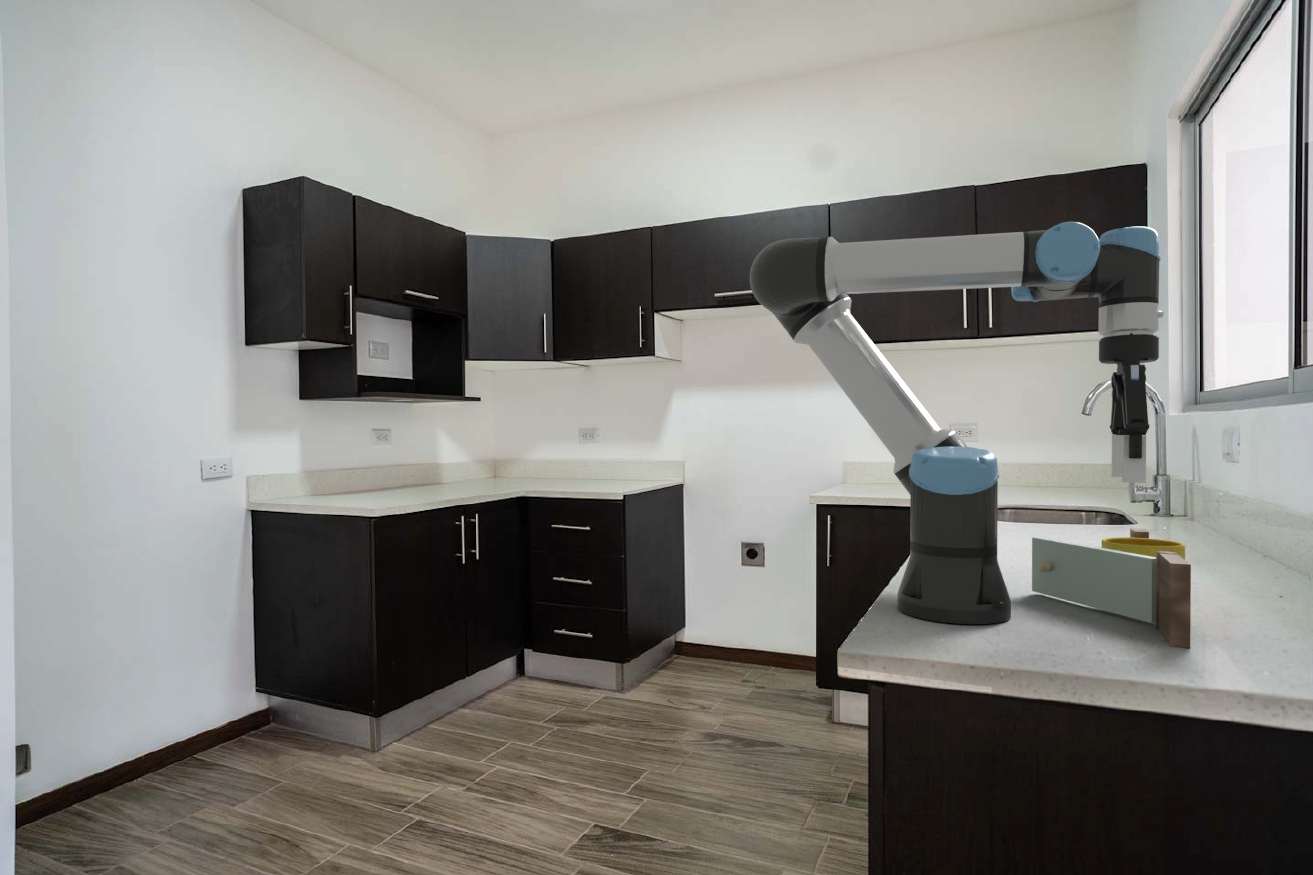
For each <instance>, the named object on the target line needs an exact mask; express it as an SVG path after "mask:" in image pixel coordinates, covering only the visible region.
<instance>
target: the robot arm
mask: <svg viewBox="0 0 1313 875" xmlns="http://www.w3.org/2000/svg"><path fill="white" fill-rule="evenodd" d="M1095 232H1096V231H1094V229H1092V228H1091V227H1089V226H1088V225H1087V224H1085V223H1082V222H1079V221H1066V222H1065V221H1064V222H1060V223H1057V225H1053V226H1051V227H1050V228H1048V229H1046V230H1045V229H1044V230H1031V231H1029V230H1028V231H1018V232H1016V231H1015V232H1014V231H1013V232H1001V233H1000V232H999V233H984V234H968V235H967V234H966V235H954V236H953V235H952V236H951V235H948V236H935V237H919V238H918V237H916V238H902V239H901V238H900V239H886V240H883V239H882V240H868V241H867V240H866V241H854V242H853V241H850V242H839V241H837V240H836V239H835V238H834V237H833V236H821V237H798V238H797V237H795V238H785V239H780V240H776V241H773V242H772V243H769V244H768V245H767V246H765V247H764V248H762V250H760V251H759V253H758V254H757V256H756V257H755V258H754V260H753V262H752V264H751V268H750V272H749V283H750V284H749V286H750V290H751V292H752V295H753V296H754V298H755V300H756V301H757V302H758V303H759V304H760V305H761V306H763V308H765V309H766V310H768V311H769V312H771V313H772V314H773V315H774V316H775V318H776V319H777V321H778V322H779V323H780V324H781V326H782V327H783V328H784V330H785V331H786V332H787V333H788V335H789V336H790V337H791V339H792V341H793V342H794V343H795V344H802V345H806V346H809V348H810V349H811V350H812V352H813V353H814V354H815V355H816V357H817V358H818V359H819V360H820V362H821V364H822V365H823V366H824V367H825V368H826V370H827V371H828V373H829V374H830V375H831V377H832V378H833V379H834V380H835V381H836V383H837V385H839V387H840V389H841V390H842V391H843V392H844V394H845V395H846V397H847V398H848V399H849V400H850V402H851V403H852V404H853V406H855V408H856V409H857V411H858V412H859V414H860V415H861V416H862V417H863V418H864V420H865V422H867V424H868V426H870V428H871V429H872V431H873V432H874V433H875V434H876V436H877V437H878V438H879V440H880V441H881V442H882V444H883V445H884V447H886V449H887V450H888V452H889V453H890V454H891V456H892V457H893V458H894V459H893V460H894V465H893V474H894V475H895V476H896V478H897V479H898V480H899V482H900V484H901V485H902V486H903V487H904V489H905V490H906V491H907V493H908V494H909V495H910V506H909V507H910V512H909V513H910V517H909V518H910V520H909V521H910V523H909V525H910V527H909V528H910V530H909V531H910V532H909V533H910V535H909V536H910V537H909V538H910V540H909V541H910V542H909V543H910V547H909V548H910V551H909V552H910V553H909V558H908V561H907V564H906V568H905V570H904V574H903V576H902V579H901V581H900V582H901V583H900V584H899V587H898V591H897V605H896V606H897V609H898V610H899V611H900V612H902V613H904V614H905V615H907V616H911V617H914V618H918V619H921V620H927V621H932V622H937V623H938V622H940V623H946V624H947V623H949V624H957V625H958V624H959V625H986V624H987V625H988V624H989V625H991V624H998V623H1003V622H1006V621H1009V620H1010V619H1011V618H1012V601H1011V597H1010V594H1009V591H1008V588H1007V586H1006V583H1005V580H1004V577H1003V574H1002V571H1001V568H1000V565H999V561H998V516H999V515H998V511H999V510H998V506H999V505H998V500H999V499H998V496H999V494H998V492H999V490H998V489H999V488H998V487H999V483H998V480H999V478H1000V470H999V466H998V458H997V457H996V455H995V454H994V453H993V452H992V451H990V450H988V449H985V448H984V449H982V448H977V447H971V446H967V444H966V442H965V441H964V440H963V439H961V437H960V435H959V434H958V433H957V431H955V429H947V428H943V427H940V426H939V425H938V424H937V421H935V419H934V418H933V417H932V416H931V414H930V413H929V412H928V410H927V409H926V408H925V407H924V406H923V404H922V403H921V402H920V401H919V399H918V398H917V397H916V396H915V394H914V393H913V391H912V390H911V389H910V388H909V387H908V385H907V384H906V382H905V381H904V380H903V378H901V376H900V375H899V374H898V372H897V371H896V370H895V369H894V366H892V365H891V363H890V362H889V360H887V358H886V357H885V356H884V354H883V353H882V352H881V351H880V349H879V348H878V347H877V346H876V345H875V343H874V342H873V340H872V339H871V338H870V337H869V336H868V334H867V333H866V331H865V330H864V329H863V328H862V327H861V325H860V323H858V321H857V320H856V319H855V317H854V316H853V315H852V313H851V308H852V298H851V297H850V296H849V294H854V295H855V294H872V293H873V294H875V293H876V294H877V293H894V292H896V293H898V292H920V291H921V292H922V291H923V292H924V291H943V290H944V291H946V290H967V289H971V290H972V289H987V288H988V289H991V288H993V289H994V288H1010V291H1011V292H1010V293H1011V296H1012V299H1013V300H1015V301H1017V302H1034V303H1038V302H1039V301H1040V302H1041V301H1057V300H1068V299H1081V298H1083V299H1085V298H1086V299H1090V298H1098V302H1099V304H1098V306H1099V307H1098V334H1099V335H1100V336H1102V338H1100V340H1098V360H1099V363H1101V364H1103V365H1104V364H1106V365H1107V364H1108V365H1115V364H1116V366H1117V367H1116V371H1115V370H1114V371H1113V373H1112V375H1111V380H1110V383H1111V390H1112V391H1111V416H1110V425H1109V429H1110V432H1111V477H1112V478H1116V477H1117V478H1122V480H1121V481H1122V483H1140V484H1143V483H1144V484H1145V483H1147V433H1148V431H1149V429H1150V424H1149V415H1148V414H1149V413H1148V400H1147V398H1148V397H1147V389H1146V388H1147V386H1146V382H1147V376H1146V375H1147V374H1146V371H1147V367H1146V365H1145V364H1143V363H1152V362H1156V361H1157V360H1158V359H1159V357H1160V343H1159V342H1160V341H1159V340H1160V337H1158V335H1157V334H1154V333H1156V332H1158V331H1159V321H1160V320H1159V319H1161V318H1163V317H1164V311H1162V310H1158V309H1159V308H1160V307H1159V300H1160V299H1159V297H1160V296H1159V295H1160V294H1159V293H1160V261H1161V256H1160V244H1159V242H1160V241H1159V235H1158V232H1157V231H1156V230H1155V229H1154V228H1151V227H1148V226H1130V227H1129V226H1127V227H1123V228H1122V227H1121V228H1116V229H1111V230H1108V231H1106V232H1104V233H1102V234H1101V235H1100V237H1098V236H1097V233H1095Z"/></svg>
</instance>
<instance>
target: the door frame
mask: <svg viewBox="0 0 1313 875" xmlns="http://www.w3.org/2000/svg"><path fill="white" fill-rule="evenodd" d="M1129 530H1130V532H1129V534H1130V536H1129V538H1149V539H1150V532H1149V530H1147V529H1146V528H1138V527H1137V528H1133V527H1130V528H1129ZM1191 577H1192V565H1191V564H1190V562H1189V561H1188V560H1186V559H1185V560H1184V559H1183V558H1182V557H1180V556H1179V555H1178V553H1175V552H1165V551H1158V552H1156V623H1155V629H1156V630H1159V632H1160V634H1161V636H1163V638H1164V639H1165V641H1166V642H1167V644H1168V645H1169V646H1170V647H1176V648H1177V647H1178V648H1185V649H1187V648H1188V649H1191V617H1192V616H1191V610H1192V609H1191V608H1192V607H1191V606H1192V605H1191V604H1192V602H1191V599H1192V597H1191V596H1192V595H1191V591H1192V590H1191V588H1192V584H1191V583H1192V580H1191V579H1192V578H1191Z"/></svg>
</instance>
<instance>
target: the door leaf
mask: <svg viewBox="0 0 1313 875" xmlns="http://www.w3.org/2000/svg"><path fill="white" fill-rule="evenodd" d="M1031 591H1032V592H1035V593H1039V594H1042V595H1046V596H1049V597H1052V598H1057V599H1060V600H1063V601H1064V600H1065V601H1068V602H1072V603H1075V604H1078V605H1079V604H1080V605H1082V606H1086V607H1090V608H1094V609H1098V610H1101V611H1106V612H1109V613H1112V614H1116V615H1121V616H1124V617H1128V618H1131V619H1135V620H1139V621H1143V622H1147V623H1150V624H1156V557H1151V556H1145V555H1139V554H1134V553H1128V552H1122V551H1117V550H1111V549H1105V548H1102V547H1100V546H1099V547H1098V546H1093V545H1087V544H1082V543H1077V542H1076V543H1075V542H1070V541H1065V540H1059V539H1053V538H1048V537H1047V538H1046V537H1041V536H1038V537H1037V536H1035V537H1032V538H1031Z"/></svg>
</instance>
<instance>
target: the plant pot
mask: <svg viewBox="0 0 1313 875" xmlns="http://www.w3.org/2000/svg"><path fill="white" fill-rule="evenodd" d="M1101 548H1105V549H1111V550H1117V551H1122V552H1128V553H1134V554H1139V555H1145V556H1151V557H1156V552H1158V551H1165V552H1175V553H1178V555H1179V556H1180V557H1182V558H1183V559H1184V560H1186V545H1185V544H1184V543H1183V542H1179V541H1175V540H1168V539H1167V540H1166V539H1160V538H1150V537H1149V538H1130V537H1127V536H1126V537H1120V536H1119V537H1118V536H1117V537H1116V536H1115V537H1106V538H1103V539H1101Z"/></svg>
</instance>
